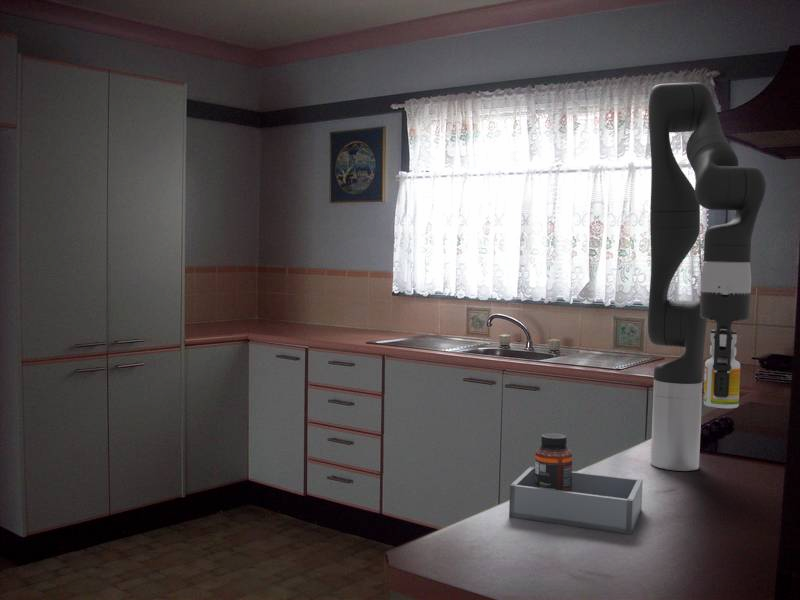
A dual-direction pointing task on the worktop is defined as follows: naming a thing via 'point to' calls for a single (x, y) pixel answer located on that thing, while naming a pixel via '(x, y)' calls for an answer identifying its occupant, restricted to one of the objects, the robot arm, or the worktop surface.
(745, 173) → the robot arm
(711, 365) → the supplement bottle
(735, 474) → the worktop surface
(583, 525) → the tote
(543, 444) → the supplement bottle
